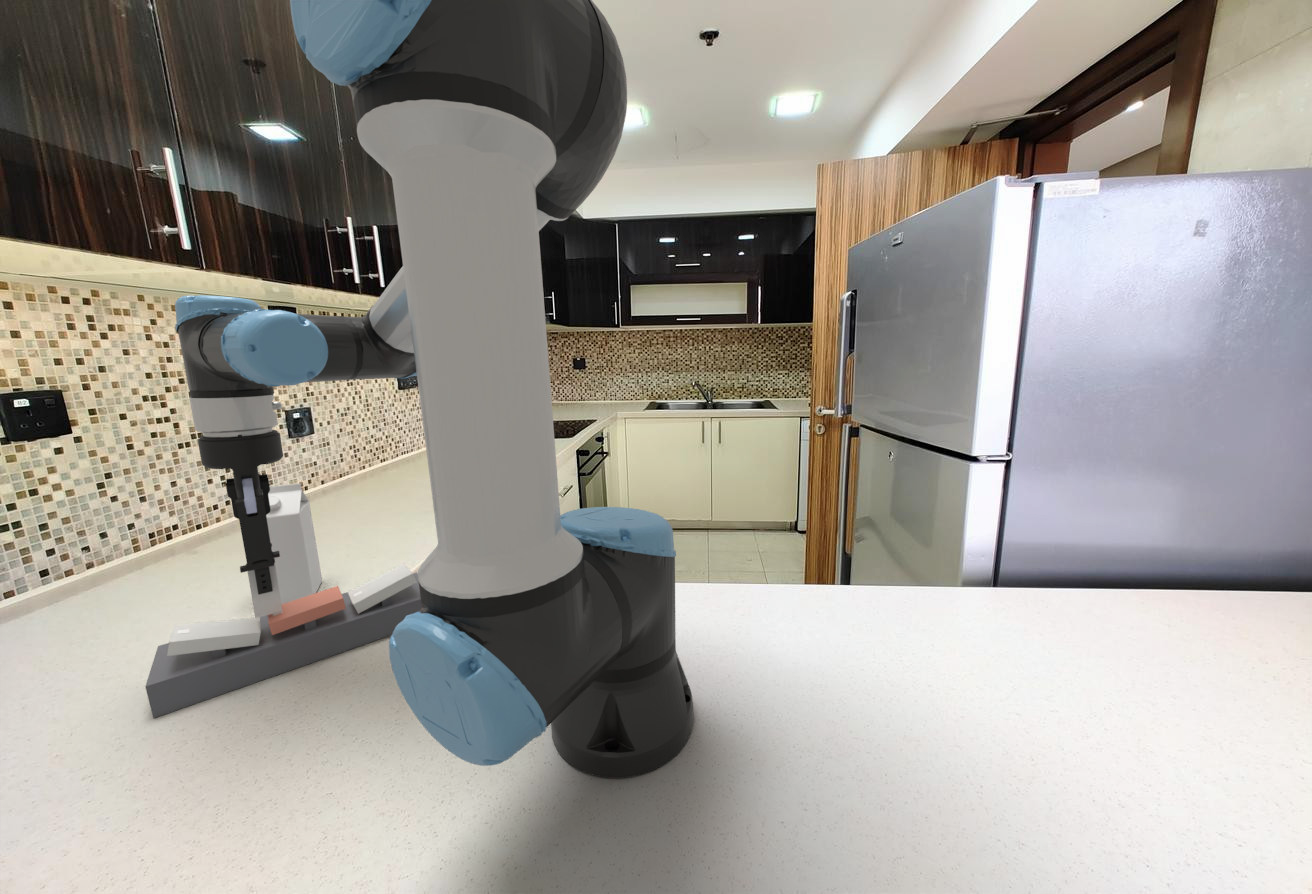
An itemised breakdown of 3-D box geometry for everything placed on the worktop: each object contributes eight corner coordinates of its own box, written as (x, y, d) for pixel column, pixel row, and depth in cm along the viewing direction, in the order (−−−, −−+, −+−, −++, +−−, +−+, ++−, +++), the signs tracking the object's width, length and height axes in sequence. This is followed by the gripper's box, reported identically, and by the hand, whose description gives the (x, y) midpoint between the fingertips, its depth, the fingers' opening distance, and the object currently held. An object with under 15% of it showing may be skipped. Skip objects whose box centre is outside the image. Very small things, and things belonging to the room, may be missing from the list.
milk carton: (273, 590, 82) (253, 484, 79) (322, 581, 85) (305, 478, 81) (260, 609, 76) (238, 495, 72) (314, 599, 79) (295, 488, 75)
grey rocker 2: (416, 582, 70) (412, 572, 70) (358, 613, 66) (352, 604, 65) (408, 571, 74) (404, 562, 73) (352, 600, 69) (347, 591, 69)
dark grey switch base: (477, 605, 76) (474, 575, 75) (153, 718, 53) (143, 678, 52) (456, 583, 83) (453, 556, 82) (165, 674, 60) (156, 638, 59)
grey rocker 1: (258, 644, 59) (260, 631, 59) (166, 656, 54) (169, 641, 54) (257, 628, 63) (259, 616, 62) (171, 637, 57) (174, 624, 57)
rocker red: (345, 608, 65) (343, 597, 64) (272, 635, 60) (268, 623, 59) (340, 595, 68) (337, 585, 68) (270, 619, 63) (267, 608, 63)
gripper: (282, 435, 54) (310, 623, 59) (276, 423, 64) (299, 584, 69) (192, 442, 50) (229, 646, 54) (200, 428, 60) (230, 601, 64)
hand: (268, 611), depth 61 cm, fingers closed
